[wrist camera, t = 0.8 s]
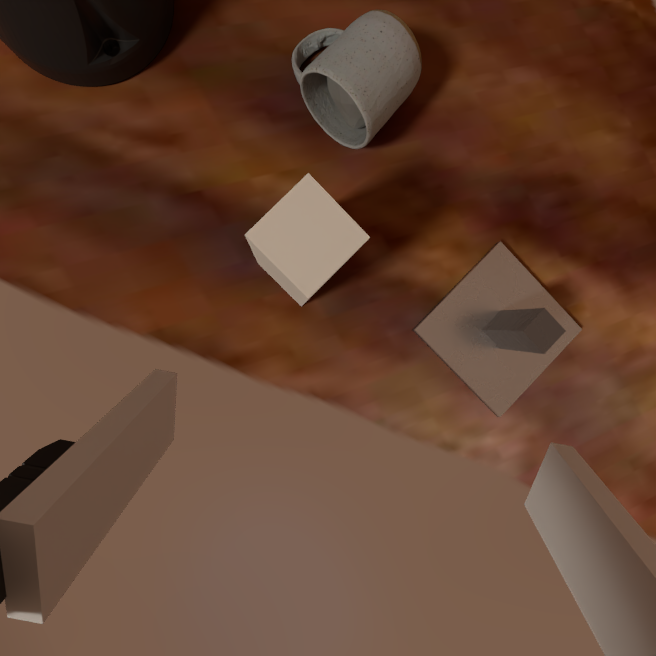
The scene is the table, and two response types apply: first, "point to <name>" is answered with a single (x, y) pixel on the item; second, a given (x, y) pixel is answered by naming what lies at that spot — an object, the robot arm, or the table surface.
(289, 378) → the table surface
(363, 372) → the table surface
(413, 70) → the ceramic mug
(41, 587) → the robot arm
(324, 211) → the beige square prism
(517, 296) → the square base plate
